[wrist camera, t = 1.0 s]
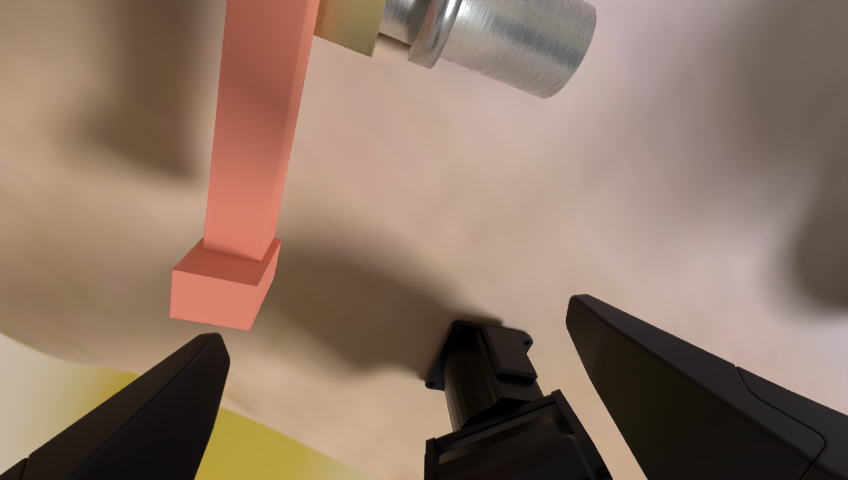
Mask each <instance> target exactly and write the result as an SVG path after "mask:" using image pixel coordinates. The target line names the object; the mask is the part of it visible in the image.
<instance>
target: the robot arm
mask: <svg viewBox="0 0 848 480" xmlns="http://www.w3.org/2000/svg"><path fill="white" fill-rule="evenodd" d="M566 326H567V329H568V332H569V334H570V336H571V338H572V341H573V343H574V345H575V347H576V350H577V352H578V354H579V356H580V359H581V361H582V363H583V365H584V368H585V370H586V372H587V374H588V376H589V378H590V380H591V382H592V384H593V386H594V387H595V389H596V391H597V393H598V394H599V396H600V398H601V400H602V401H603V403H604V405H605V407H606V408H607V410H608V412H609V413H610V415H611V417H612V419H613V420H614V422H615V424H616V426H617V427H618V429H619V431H620V433H621V434H622V436H623V438H624V439H625V441H626V443H627V445H628V446H629V448H630V450H631V452H632V453H633V455H634V457H635V459H636V460H637V462H638V464H639V465H640V467H641V469H642V471H643V472H644V474H645V476H646V478H647V479H648V480H848V415H845V414H843V413H841V412H838V411H836V410H834V409H831V408H829V407H826V406H824V405H822V404H820V403H817V402H815V401H813V400H810V399H808V398H806V397H803V396H801V395H799V394H797V393H794V392H792V391H790V390H787V389H785V388H783V387H781V386H779V385H777V384H775V383H772V382H770V381H768V380H766V379H764V378H762V377H759V376H757V375H755V374H753V373H751V372H749V371H747V370H745V369H743V368H741V367H738V366H737V367H735V365H734V364H732V363H730V362H728V361H726V360H724V359H722V358H720V357H718V356H716V355H713V354H711V353H709V352H707V351H705V350H703V349H701V348H699V347H697V346H695V345H693V344H690V343H688V342H686V341H684V340H682V339H680V338H678V337H676V336H674V335H672V334H670V333H667V332H665V331H663V330H661V329H659V328H657V327H655V326H653V325H651V324H649V323H647V322H645V321H642V320H640V319H638V318H636V317H634V316H632V315H630V314H628V313H626V312H624V311H622V310H619V309H617V308H615V307H613V306H611V305H609V304H607V303H605V302H603V301H601V300H599V299H596V298H594V297H592V296H590V295H588V294H580V295H573V296H572V297H571V298H570V300H569V305H568V310H567V315H566ZM457 327H460V328H458V329H456V328H457ZM526 340H527V341H526ZM524 341H525V342H524ZM532 344H533V340H532V338H531V336H530V335H528V334H524V333H519V332H515V331H511V330H506V329H501V328H497V327H492V326H487V325H480V324H475V323H470V322H465V321H461V320H457V321H454V322H453V323H452V324H451V326H450V328H449V330H448V332H447V334H446V336H445V338H444V340H443V342H442V345H441V347H440V349H439V351H438V353H437V355H436V357H435V359H434V361H433V363H432V365H431V367H430V370H429V372H428V374H427V376H426V378H425V386H426V387H427V388H429V389H435V390H441V391H445V396H446V401H447V405H448V410H449V415H450V420H451V425H452V429H453V432H451V433H449V434H446V435H444V436H441V437H438V438H436V439H435V438H431V439H429V440H426V454H425V461H424V480H613V478H612V476H611V474H610V472H609V471H608V469H607V467H606V465H605V463H604V461H603V459H602V457H601V455H600V454H599V452H598V450H597V448H596V446H595V445H594V443H593V441H592V440H591V438H590V436H589V435H588V433H587V432H586V430H585V429H584V427H583V425H582V424H581V422H580V421H579V419H578V417H577V416H576V414H575V413H574V411H573V410H572V408H571V406H570V405H569V403H568V402H567V400H566V398H565V397H564V395H563V394H562V392H561V391H560V389H558V390H555V391H553V392H551V394H550V395H547V396H544V395H543V393H542V391H541V389H540V387H539V385H538V383H537V381H536V379H537V377H538V376H537V373H536V371H535V369H534V367H533V366H532V364H531V362H530V360H529V358H528V356H527V352H528V350H529V349H530V347H531V346H532ZM229 367H230V357H229V354H228V351H227V349H226V346H225V344H224V341H223V339H222V336H221V335H220V334H219V333H217V332H214V333H205V334H200V335H198V336H197V337H195V338H194V339H192V340H191V341H190V342H188V343H187V344H185V345H184V346H182V347H181V348H180V349H178V350H177V351H175V352H174V353H173V354H171V355H170V356H168V357H167V358H165V359H164V360H163V361H161V362H160V363H158V364H157V365H156V366H154V367H153V368H151V369H150V370H148V371H147V372H146V373H144V374H143V375H141V376H140V377H139V378H137V379H136V380H134V381H133V382H131V383H130V384H129V385H127V386H126V387H124V388H123V389H122V390H120V391H119V392H117V393H116V394H115V395H113V396H112V397H110V398H109V399H108V400H106V401H105V402H103V403H102V404H100V405H99V406H98V407H96V408H95V409H93V410H92V411H90V412H89V413H88V414H86V415H85V416H84V417H82V418H81V419H79V420H78V421H77V422H75V423H73V424H72V425H71V426H69V427H68V428H66V429H65V430H64V431H62V432H61V433H59V434H58V435H56V436H55V437H54V438H52V439H51V440H50V441H48V442H47V443H45V444H44V445H42V446H41V447H39V448H38V449H37V450H35V451H34V452H32V453H31V454H30V455H29V457H28V458H24V459H22V460H21V461H19V462H18V463H17V464H15V465H14V466H12V467H11V468H10V469H8V470H7V471H6V472H4V473H3V474H1V475H0V480H194V479H195V476H196V473H197V471H198V468H199V465H200V463H201V460H202V458H203V455H204V452H205V450H206V447H207V444H208V442H209V439H210V436H211V433H212V430H213V428H214V424H215V421H216V417H217V413H218V409H219V406H220V402H221V398H222V394H223V390H224V386H225V383H226V379H227V375H228V371H229Z"/></svg>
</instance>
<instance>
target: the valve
mask: <svg viewBox="0 0 848 480" xmlns="http://www.w3.org/2000/svg"><path fill="white" fill-rule="evenodd" d="M226 1H227V0H226ZM595 25H596V10H595V8H594V6H593V5H591V4H589V3H588V2H586V1H584V0H320V2H319V7H318V13H317V18H316V23H315V28H314V33H313V35H316V36H318V37H321V38H323V39H326V40H329V41H331V42H334V43H336V44H339V45H341V46H344V47H347V48H349V49H352V50H354V51H357V52H359V53H362V54H364V55H367V56H370V57H372V56H373V52H374V48H375V44H376V40H377V36H378V32H380V33H383V34H385V35H388V36H390V37H393V38H395V39H398V40H400V41H402V42H405V43H407V44H410V45H409V50H408V56H407V60H408V61H410V62H413V63H416V64H418V65H421V66H423V67H426V68H428V69H431V68H432V67H433V66H434V65H435V63H436V61H437V60H438V58H439V57H441V58H444V59H446V60H449V61H451V62H454V63H456V64H458V65H461V66H463V67H466V68H468V69H471V70H473V71H475V72H478V73H480V74H483V75H485V76H488V77H490V78H492V79H495V80H497V81H500V82H502V83H505V84H507V85H510V86H512V87H514V88H517V89H519V90H522V91H524V92H527V93H529V94H531V95H534V96H536V97H539V98H541V99H547V98H549V97H551V96H553V95H555V94H556V93H557V92H558V91H560V90H561V89H562V88H563V87H564V86H565V84H566V83H567V82H568V81H569V80H570V78H571V77H572V76H573V74H574V73H575V71H576V70H577V68H578V67H579V65H580V63H581V62H582V60H583V58H584V56H585V54H586V52H587V50H588V48H589V45H590V43H591V40H592V37H593V34H594V30H595Z"/></svg>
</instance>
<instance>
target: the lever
mask: <svg viewBox="0 0 848 480" xmlns="http://www.w3.org/2000/svg"><path fill="white" fill-rule="evenodd" d="M319 2H320V0H227V9H226V19H225V29H224V39H223V49H222V59H221V70H220V80H219V90H218V100H217V110H216V120H215V130H214V140H213V150H212V160H211V170H210V180H209V191H208V201H207V211H206V221H205V231H204V237H203V238H202V239H201V240H200V241H199V242H198V243H197V244H196V245H195V247H194V248H193V249H192V250H191V251H190V252H189V253H188V254H187V255H186V256H185V257H184V258H183V259H182V260H181V261H180V262H179V263H178V264H177V265H176V266H175V267H174V269H173V270H172V285H171V301H170V317H171V318H177V319H183V320H189V321H195V322H201V323H207V324H213V325H219V326H225V327H231V328H236V329H242V330H248V331H250V329H251V326H252V324H253V322H254V320H255V318H256V315H257V313H258V311H259V309H260V307H261V305H262V302H263V300H264V298H265V296H266V294H267V292H268V289H269V287H270V285H271V283H272V281H273V278H274V274H275V270H276V265H277V260H278V255H279V250H280V245H281V240H280V239H276V238H274V237H275V231H276V226H277V221H278V216H279V210H280V205H281V200H282V195H283V190H284V184H285V179H286V174H287V169H288V164H289V158H290V153H291V148H292V143H293V138H294V132H295V127H296V122H297V117H298V112H299V106H300V101H301V96H302V91H303V85H304V80H305V75H306V70H307V65H308V59H309V54H310V49H311V44H312V39H313V33H314V28H315V23H316V18H317V13H318V7H319Z"/></svg>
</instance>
